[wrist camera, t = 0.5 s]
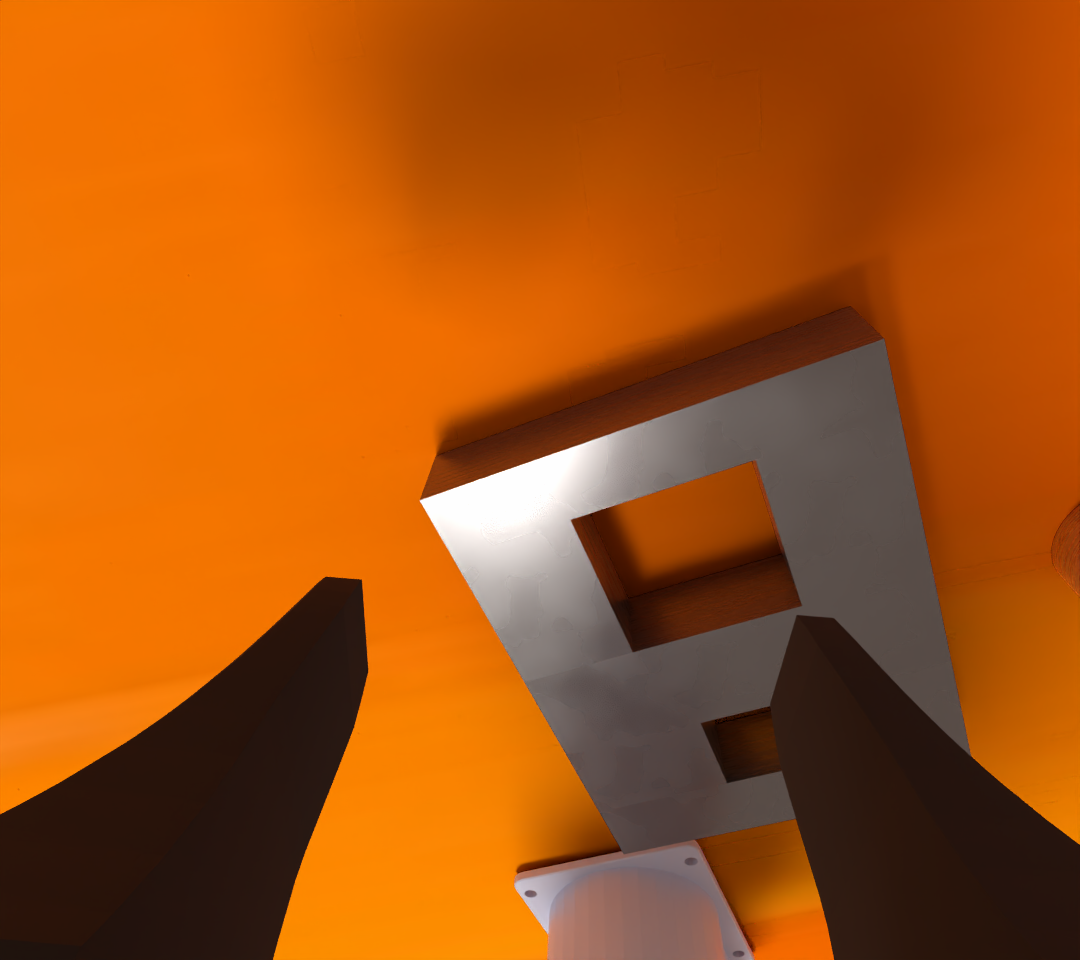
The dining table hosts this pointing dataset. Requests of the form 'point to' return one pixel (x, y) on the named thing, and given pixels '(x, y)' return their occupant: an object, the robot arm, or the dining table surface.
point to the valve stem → (1068, 550)
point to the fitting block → (708, 602)
